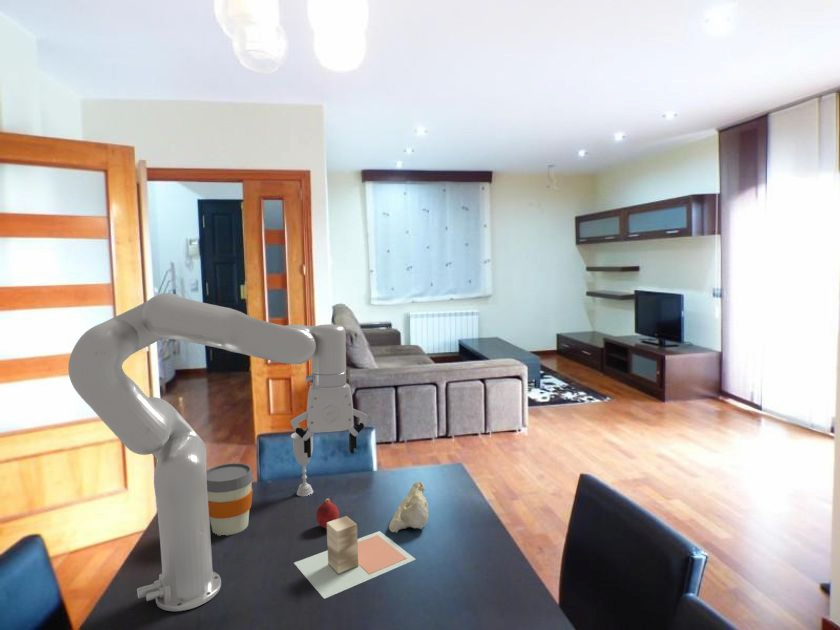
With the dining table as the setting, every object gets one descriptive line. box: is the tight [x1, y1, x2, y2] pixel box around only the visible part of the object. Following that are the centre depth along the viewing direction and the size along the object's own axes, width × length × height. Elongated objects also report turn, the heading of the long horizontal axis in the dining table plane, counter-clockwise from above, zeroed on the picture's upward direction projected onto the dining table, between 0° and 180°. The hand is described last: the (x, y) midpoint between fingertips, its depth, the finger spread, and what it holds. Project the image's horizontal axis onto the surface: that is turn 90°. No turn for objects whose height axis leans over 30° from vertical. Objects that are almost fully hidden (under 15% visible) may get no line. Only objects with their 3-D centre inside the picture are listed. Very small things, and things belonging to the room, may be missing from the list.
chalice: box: [290, 432, 315, 497], centre depth 154 cm, size 7×7×18 cm
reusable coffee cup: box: [207, 462, 254, 536], centre depth 135 cm, size 13×13×15 cm
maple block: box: [326, 515, 359, 575], centre depth 116 cm, size 5×5×10 cm
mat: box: [293, 530, 417, 599], centre depth 118 cm, size 23×16×1 cm
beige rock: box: [388, 481, 430, 533], centre depth 135 cm, size 15×7×15 cm
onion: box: [315, 498, 340, 530], centre depth 133 cm, size 6×6×8 cm
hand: (330, 453), depth 117 cm, fingers open, 9 cm apart
